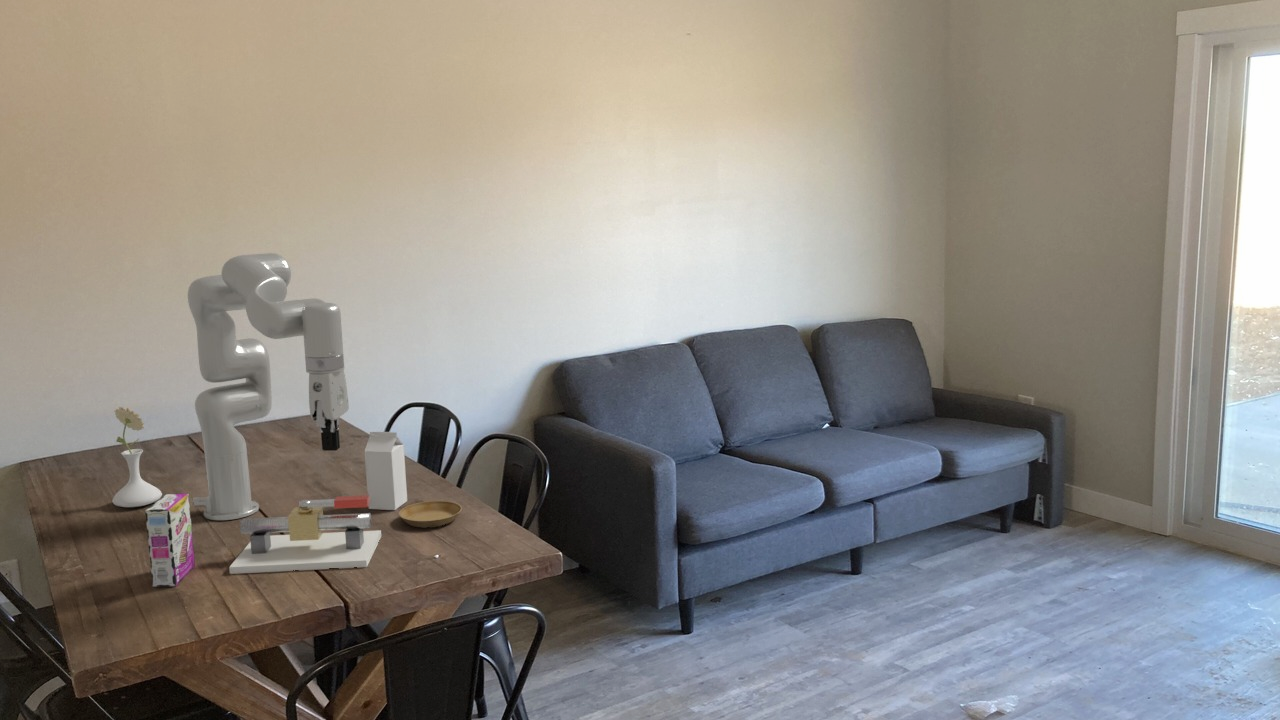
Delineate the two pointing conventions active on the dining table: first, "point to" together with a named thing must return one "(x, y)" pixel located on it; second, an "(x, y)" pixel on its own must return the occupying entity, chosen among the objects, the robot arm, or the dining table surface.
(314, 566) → the valve board
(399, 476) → the milk carton
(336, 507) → the valve lever
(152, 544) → the candy bar box
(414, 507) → the plant saucer
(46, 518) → the dining table surface
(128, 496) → the flower in vase
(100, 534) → the dining table surface
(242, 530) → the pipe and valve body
